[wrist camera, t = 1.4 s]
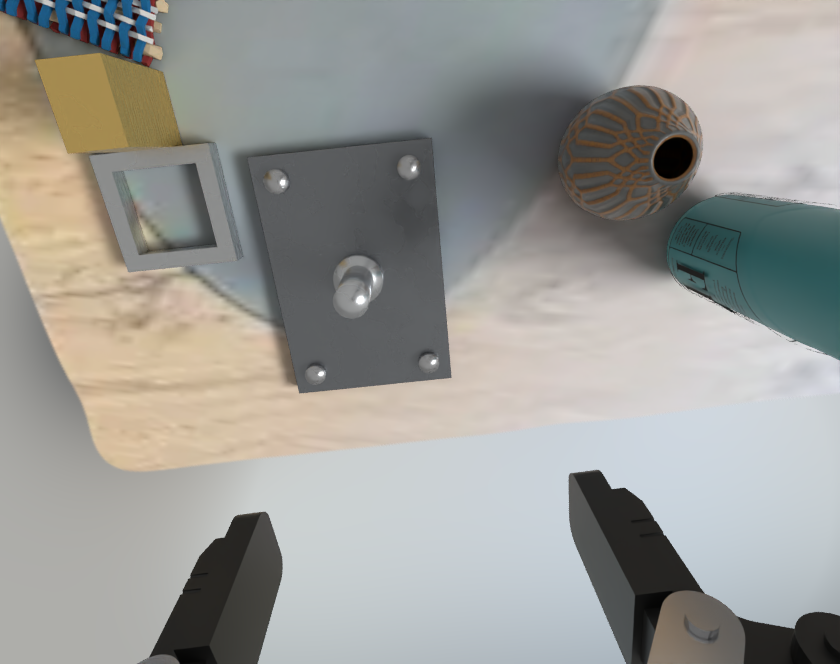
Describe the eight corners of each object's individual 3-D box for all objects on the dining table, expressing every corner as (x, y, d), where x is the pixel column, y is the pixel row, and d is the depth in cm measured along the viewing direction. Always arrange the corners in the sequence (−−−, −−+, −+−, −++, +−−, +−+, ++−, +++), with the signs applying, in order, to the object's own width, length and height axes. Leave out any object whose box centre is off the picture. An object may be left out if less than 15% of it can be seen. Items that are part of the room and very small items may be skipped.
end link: (76, 81, 27) (-9, 64, 21) (197, 68, 27) (143, 48, 21) (138, 267, 31) (80, 294, 25) (243, 256, 31) (207, 281, 25)
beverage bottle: (630, 252, 32) (951, 402, 13) (703, 166, 30) (1199, 201, 11) (696, 303, 33) (1067, 503, 15) (769, 225, 31) (1303, 341, 13)
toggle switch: (252, 157, 29) (215, 160, 23) (430, 138, 29) (437, 136, 23) (302, 386, 35) (282, 432, 29) (450, 371, 35) (459, 414, 29)
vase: (546, 98, 28) (604, 78, 20) (661, 88, 28) (766, 65, 20) (543, 215, 31) (594, 240, 23) (649, 206, 31) (737, 229, 22)
